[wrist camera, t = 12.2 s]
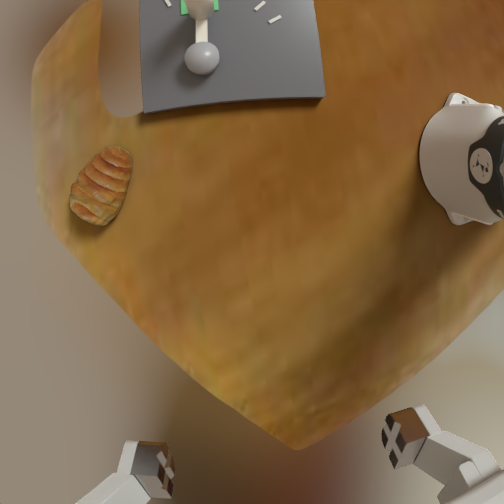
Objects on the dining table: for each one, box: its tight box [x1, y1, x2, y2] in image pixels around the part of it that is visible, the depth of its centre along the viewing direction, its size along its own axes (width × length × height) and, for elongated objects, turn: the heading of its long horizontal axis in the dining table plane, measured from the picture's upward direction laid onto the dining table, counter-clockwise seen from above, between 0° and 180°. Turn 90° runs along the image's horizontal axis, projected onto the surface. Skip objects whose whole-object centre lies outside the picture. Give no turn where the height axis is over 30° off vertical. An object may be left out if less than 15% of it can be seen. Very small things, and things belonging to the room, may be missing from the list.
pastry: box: [69, 145, 132, 226], centre depth 33 cm, size 9×7×4 cm
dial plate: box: [140, 0, 326, 114], centre depth 29 cm, size 20×18×2 cm
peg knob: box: [184, 0, 220, 75], centre depth 24 cm, size 10×4×7 cm, turn 2°
